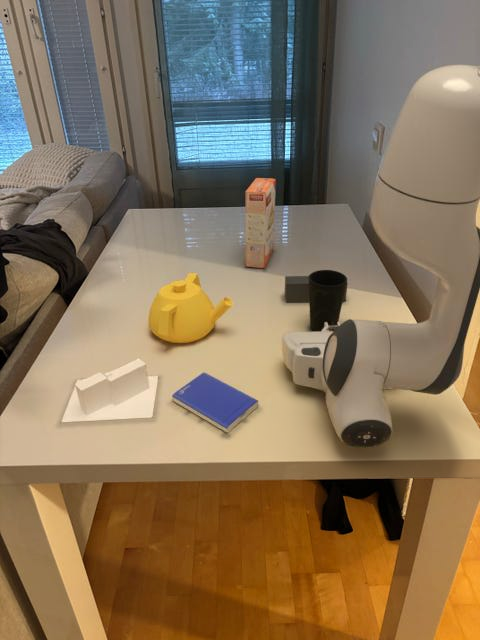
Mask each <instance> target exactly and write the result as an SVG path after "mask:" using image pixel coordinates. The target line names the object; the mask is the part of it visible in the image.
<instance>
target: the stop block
mask: <svg viewBox="0 0 480 640" xmlns="http://www.w3.org/2000/svg"><path fill="white" fill-rule="evenodd" d="M348 284H349V283H348V282H347V284H346V289H345V293H344V298H343V302H342V303H346V300H347V292H348ZM284 300H285V303H286V304H302V303H303V304H304V303H305V304H306V303H309V275H294V276H293V275H287V276H286V275H285V276H284Z"/></svg>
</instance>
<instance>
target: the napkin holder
mask: <svg viewBox="0 0 480 640" xmlns="http://www.w3.org/2000/svg"><path fill="white" fill-rule="evenodd" d="M158 383H159V375H152V374H151V375H148V368H147V364H146V363H145V362H144V361H143V360H141V359H140V358H137V359H134V360H132V361H129V362H128V363H126V364H124V365H122V366H120V367H117V368H115V369H113V370H111V371H108V372H105V373H104V374H103V373H102V372H101V371H99V372H97V373H95V374H93V375H91V376H88V377H87V378H85V379H76V383H74V388H73V390H72V393H71V395H70V398H69V401H68V403H67V406H66V409H65V411H64V414H63V416H62V419H61V421H60V423H74V422H75V423H76V422H92V421H93V422H95V421H112V420H131V419H133V420H134V419H151V418H153V415H154V408H155V402H156V396H157V395H156V393H157V388H158Z"/></svg>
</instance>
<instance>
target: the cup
mask: <svg viewBox="0 0 480 640" xmlns="http://www.w3.org/2000/svg"><path fill="white" fill-rule="evenodd" d="M308 276H309V302H308V303H309V329H310V332H319V331H322V329H323V328H324V323H325V322H340V320H339V319H340V316H341V311H342V308H343V307H342V306H343V303H344V302H343V298H344V293H345V289H346V284H347V283H348V277H347V276H346V275H345V274H344V273H342V272H340V271H337V270H333V269H319V270H316V271H313V272H311V273H310V274H309V275H308ZM347 285H348V284H347Z"/></svg>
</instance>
